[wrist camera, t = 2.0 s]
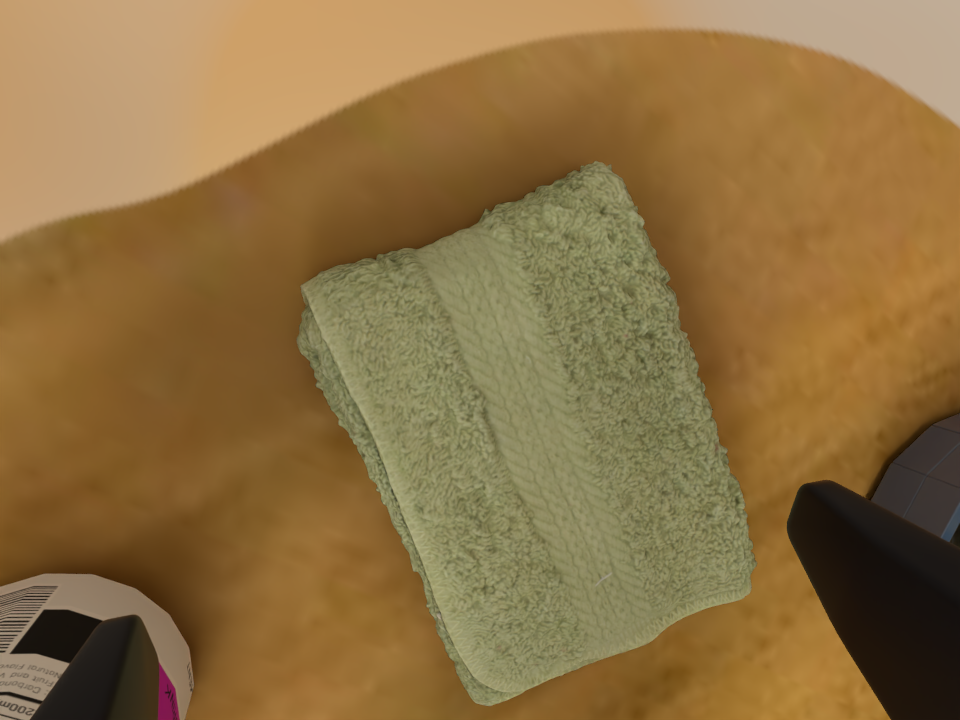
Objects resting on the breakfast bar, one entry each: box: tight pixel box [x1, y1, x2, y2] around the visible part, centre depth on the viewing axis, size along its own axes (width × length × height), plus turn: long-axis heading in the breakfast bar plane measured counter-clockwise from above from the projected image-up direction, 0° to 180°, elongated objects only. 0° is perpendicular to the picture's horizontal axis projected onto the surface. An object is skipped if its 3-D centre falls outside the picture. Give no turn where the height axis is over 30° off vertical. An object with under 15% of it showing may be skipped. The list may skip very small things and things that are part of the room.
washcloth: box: [297, 161, 757, 706], centre depth 25 cm, size 13×18×3 cm
